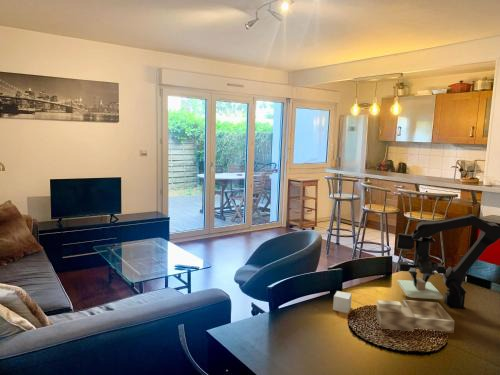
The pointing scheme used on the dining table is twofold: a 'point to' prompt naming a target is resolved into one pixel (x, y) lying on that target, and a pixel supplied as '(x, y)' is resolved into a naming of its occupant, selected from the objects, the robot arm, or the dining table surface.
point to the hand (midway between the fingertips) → (419, 286)
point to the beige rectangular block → (389, 306)
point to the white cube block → (342, 302)
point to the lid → (419, 289)
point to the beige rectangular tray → (417, 317)
